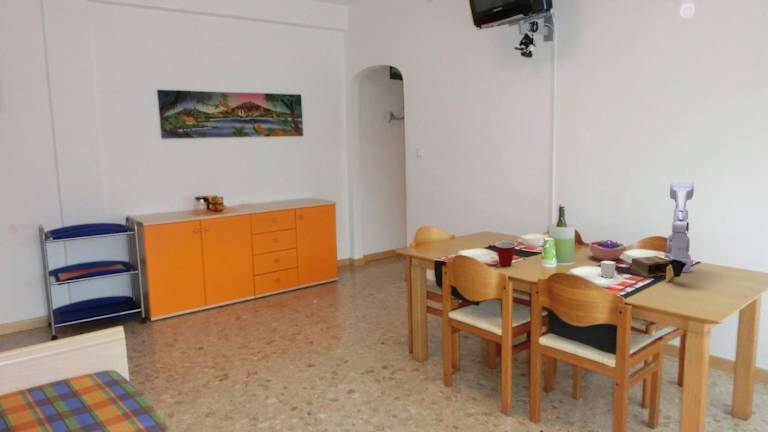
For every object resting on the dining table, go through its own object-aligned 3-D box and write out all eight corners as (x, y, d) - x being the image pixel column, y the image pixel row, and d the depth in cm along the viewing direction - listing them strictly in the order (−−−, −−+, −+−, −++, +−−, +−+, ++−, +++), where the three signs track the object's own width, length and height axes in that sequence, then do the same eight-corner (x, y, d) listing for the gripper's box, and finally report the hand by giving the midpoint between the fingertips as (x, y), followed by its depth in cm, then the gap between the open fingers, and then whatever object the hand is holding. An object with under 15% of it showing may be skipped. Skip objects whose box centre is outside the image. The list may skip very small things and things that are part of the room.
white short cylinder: (606, 278, 255) (606, 264, 254) (596, 275, 261) (597, 261, 260) (618, 277, 257) (619, 263, 255) (608, 273, 263) (609, 259, 262)
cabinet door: (672, 274, 258) (673, 260, 257) (675, 274, 257) (676, 261, 256) (665, 281, 247) (666, 267, 246) (668, 281, 246) (668, 267, 245)
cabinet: (655, 269, 268) (656, 255, 267) (670, 274, 258) (671, 260, 257) (631, 272, 264) (632, 258, 263) (645, 277, 255) (646, 263, 254)
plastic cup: (492, 267, 281) (492, 244, 279) (498, 262, 291) (498, 240, 289) (513, 269, 276) (513, 246, 274) (518, 264, 286) (518, 242, 284)
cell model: (616, 255, 300) (616, 235, 298) (628, 264, 280) (629, 242, 278) (584, 255, 301) (585, 235, 299) (595, 264, 282) (595, 243, 280)
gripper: (659, 244, 247) (657, 273, 249) (684, 251, 233) (682, 281, 235) (672, 243, 249) (670, 271, 251) (697, 250, 235) (695, 280, 237)
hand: (677, 276), depth 243 cm, fingers closed
